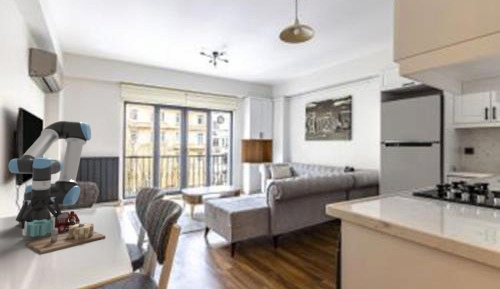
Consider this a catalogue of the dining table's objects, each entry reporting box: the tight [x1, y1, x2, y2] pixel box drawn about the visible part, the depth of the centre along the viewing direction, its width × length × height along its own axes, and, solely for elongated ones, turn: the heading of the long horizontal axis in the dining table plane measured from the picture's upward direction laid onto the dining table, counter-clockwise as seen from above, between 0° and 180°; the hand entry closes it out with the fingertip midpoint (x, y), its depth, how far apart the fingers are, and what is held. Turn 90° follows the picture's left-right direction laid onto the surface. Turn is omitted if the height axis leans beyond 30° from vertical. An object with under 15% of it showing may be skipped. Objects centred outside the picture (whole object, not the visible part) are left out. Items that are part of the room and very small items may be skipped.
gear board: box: [25, 222, 106, 255], centre depth 133 cm, size 17×28×7 cm, turn 147°
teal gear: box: [26, 219, 53, 237], centre depth 135 cm, size 11×11×5 cm
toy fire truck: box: [55, 210, 81, 234], centre depth 148 cm, size 7×12×10 cm, turn 135°
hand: (38, 231), depth 135 cm, fingers closed on teal gear, 11 cm apart
